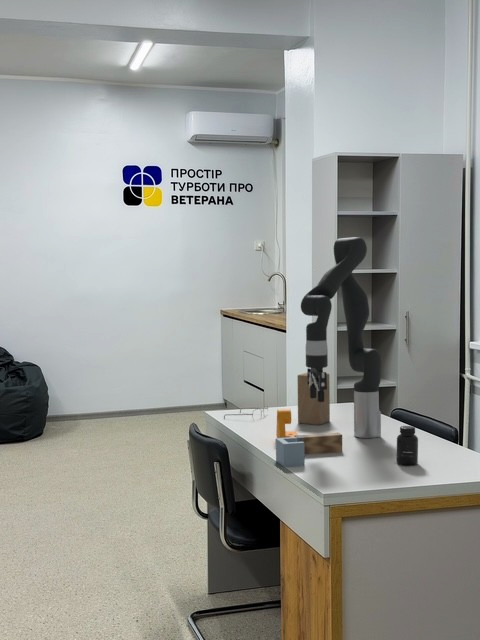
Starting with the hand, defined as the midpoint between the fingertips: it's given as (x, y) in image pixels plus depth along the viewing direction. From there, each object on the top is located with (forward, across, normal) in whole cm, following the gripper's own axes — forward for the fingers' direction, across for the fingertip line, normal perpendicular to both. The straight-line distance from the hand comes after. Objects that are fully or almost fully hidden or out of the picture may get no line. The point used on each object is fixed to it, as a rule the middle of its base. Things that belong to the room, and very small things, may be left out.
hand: (317, 400), depth 281 cm
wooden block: (+18, +52, -16) cm, 57 cm away
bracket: (+18, +20, +5) cm, 27 cm away
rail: (+18, 0, 0) cm, 18 cm away
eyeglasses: (+19, +73, +8) cm, 75 cm away
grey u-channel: (+18, -12, +14) cm, 26 cm away
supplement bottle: (+18, -24, -23) cm, 38 cm away
